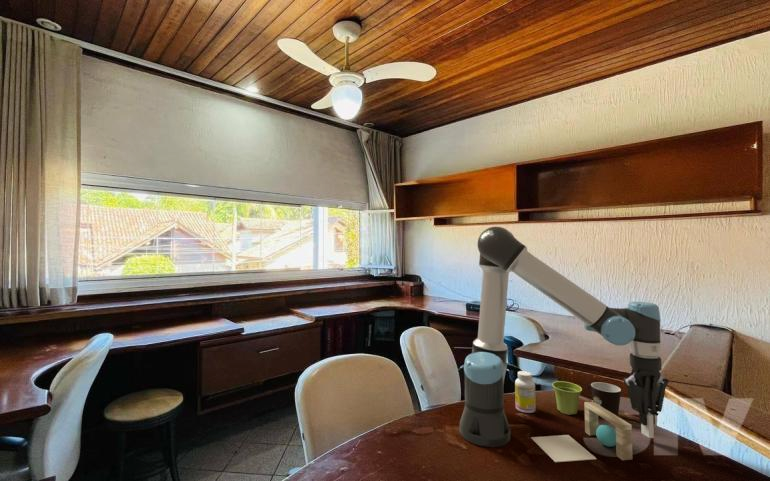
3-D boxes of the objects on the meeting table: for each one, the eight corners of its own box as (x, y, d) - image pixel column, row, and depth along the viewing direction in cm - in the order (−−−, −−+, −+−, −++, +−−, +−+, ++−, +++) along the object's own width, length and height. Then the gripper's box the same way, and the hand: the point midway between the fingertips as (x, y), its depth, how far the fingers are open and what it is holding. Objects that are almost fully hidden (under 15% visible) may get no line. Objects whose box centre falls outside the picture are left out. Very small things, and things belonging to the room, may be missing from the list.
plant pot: (583, 409, 122) (582, 384, 122) (582, 420, 114) (581, 393, 114) (554, 403, 127) (553, 379, 127) (551, 413, 119) (550, 388, 119)
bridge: (622, 460, 92) (621, 425, 92) (585, 432, 106) (584, 402, 107) (632, 459, 92) (631, 424, 92) (594, 431, 107) (593, 401, 107)
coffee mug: (626, 424, 111) (626, 393, 111) (597, 421, 113) (596, 391, 113) (610, 408, 122) (610, 380, 123) (584, 406, 124) (583, 378, 124)
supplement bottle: (517, 403, 126) (516, 368, 127) (536, 407, 123) (535, 371, 123) (513, 411, 121) (513, 374, 121) (534, 415, 117) (533, 377, 118)
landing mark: (555, 462, 91) (555, 461, 91) (531, 438, 103) (531, 437, 103) (596, 459, 92) (596, 458, 92) (568, 435, 104) (568, 434, 104)
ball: (602, 437, 96) (617, 426, 97) (588, 428, 101) (602, 417, 102) (611, 454, 96) (626, 443, 97) (597, 443, 102) (611, 433, 102)
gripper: (635, 359, 97) (638, 444, 96) (676, 357, 98) (679, 441, 98) (615, 351, 105) (617, 430, 104) (653, 350, 106) (656, 427, 105)
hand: (647, 435), depth 101 cm, fingers closed
